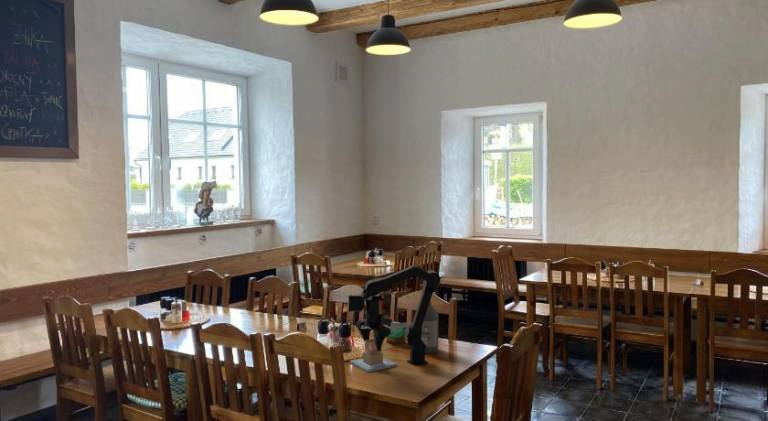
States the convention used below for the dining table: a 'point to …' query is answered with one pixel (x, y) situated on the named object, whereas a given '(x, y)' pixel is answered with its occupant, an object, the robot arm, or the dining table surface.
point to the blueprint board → (368, 369)
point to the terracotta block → (371, 347)
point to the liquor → (430, 330)
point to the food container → (397, 333)
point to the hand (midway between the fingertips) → (373, 348)
